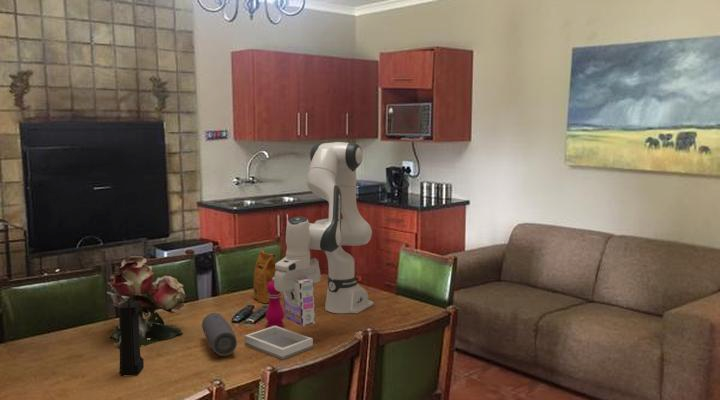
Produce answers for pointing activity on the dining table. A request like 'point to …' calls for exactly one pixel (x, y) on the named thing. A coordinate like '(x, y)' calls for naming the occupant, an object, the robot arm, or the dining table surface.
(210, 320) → the bluetooth speaker
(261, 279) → the coffee package
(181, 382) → the dining table surface
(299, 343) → the white tray
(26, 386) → the dining table surface
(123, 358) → the portable radio
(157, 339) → the rose bouquet
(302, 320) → the candy box
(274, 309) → the pepper mill
